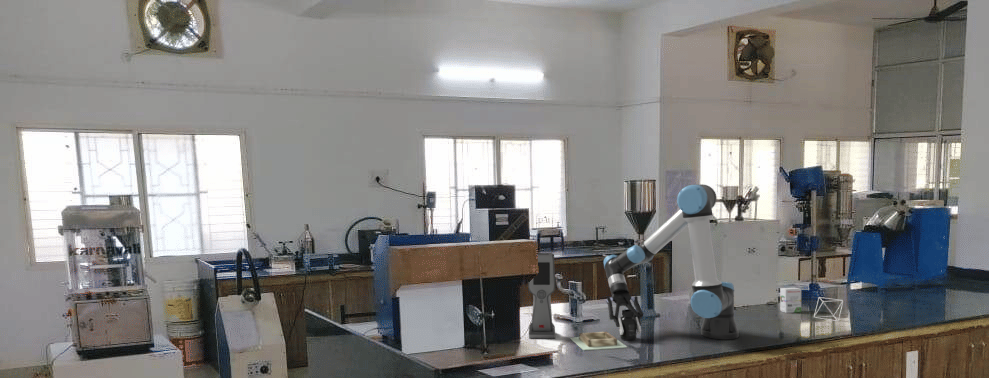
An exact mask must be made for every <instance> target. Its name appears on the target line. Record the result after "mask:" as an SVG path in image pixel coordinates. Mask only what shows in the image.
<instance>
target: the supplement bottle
mask: <svg viewBox="0 0 989 378" xmlns="http://www.w3.org/2000/svg"><path fill="white" fill-rule="evenodd" d="M621 315H622V316H620V317H619V318H620V319H621V323H622V327H623V330H624V332H623V335H620V334H619V338H620V340H622V341H626V342H627V341H628V342H632V341H636V340H637V338H638V332H637V327H636V318H635V317H634V316H633V315H634V311H633V310H629V309H622V310H621Z"/></svg>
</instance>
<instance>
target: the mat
mask: <svg viewBox="0 0 989 378" xmlns="http://www.w3.org/2000/svg"><path fill="white" fill-rule="evenodd" d="M569 338H570V340H571V341H572V343H573V342H574V343H575V344H576V345H577V346H578V347H579V348H580V349H581V350H583V351H595V350H596V351H597V350H600V351H601V350H611V349H612V350H613V349H628V346H627V345H625V344H624V343H622V342H621V341H620V340H618V339H617V345H612V346H596V347H588V346H587V345H586V344H585V343H583V342H582V341H581V340H580V339H579V336H577V337H576V336H575V337H569ZM604 339H605V338H604ZM590 340H594V339H590Z"/></svg>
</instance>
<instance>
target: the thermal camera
mask: <svg viewBox="0 0 989 378" xmlns="http://www.w3.org/2000/svg"><path fill="white" fill-rule="evenodd" d="M537 253H538V266H539V273H538V275H537V276H535V277H534V278H533V279H532V280H531V281H530V282H528V281H527V288H528V291H529V293H530V294H532V297H533V299H532V301H533V302H532V313H531V314H532V315H531V318H532V319H531V323H530V324H529V326H528V339H533V338H536V339H539V340H540V339H541V340H544V339H546V340H549V339H551V340H552V339H554V340H555V339H556V326H555V324H554V323H553V315H552V313H553V311H552V304H551V302H552V301H551V295H552V294H553V293H554V292H555V290H556V275H555V274H556V273H555V271H556V270H555V254H554V253H552V252H537Z"/></svg>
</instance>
